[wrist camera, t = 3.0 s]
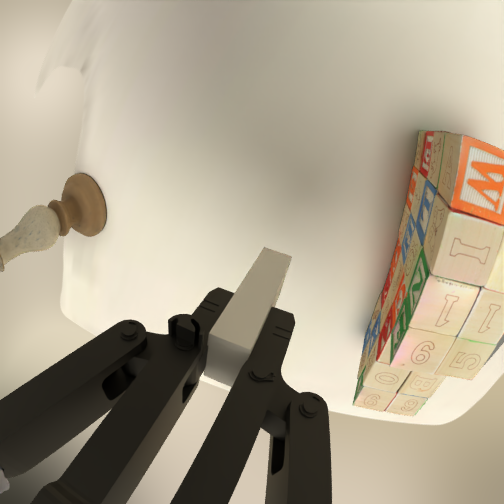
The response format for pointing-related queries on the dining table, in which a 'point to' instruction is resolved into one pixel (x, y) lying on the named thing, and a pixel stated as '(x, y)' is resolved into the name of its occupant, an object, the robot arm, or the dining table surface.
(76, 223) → the candle holder
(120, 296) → the dining table surface
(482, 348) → the stack of blocks
